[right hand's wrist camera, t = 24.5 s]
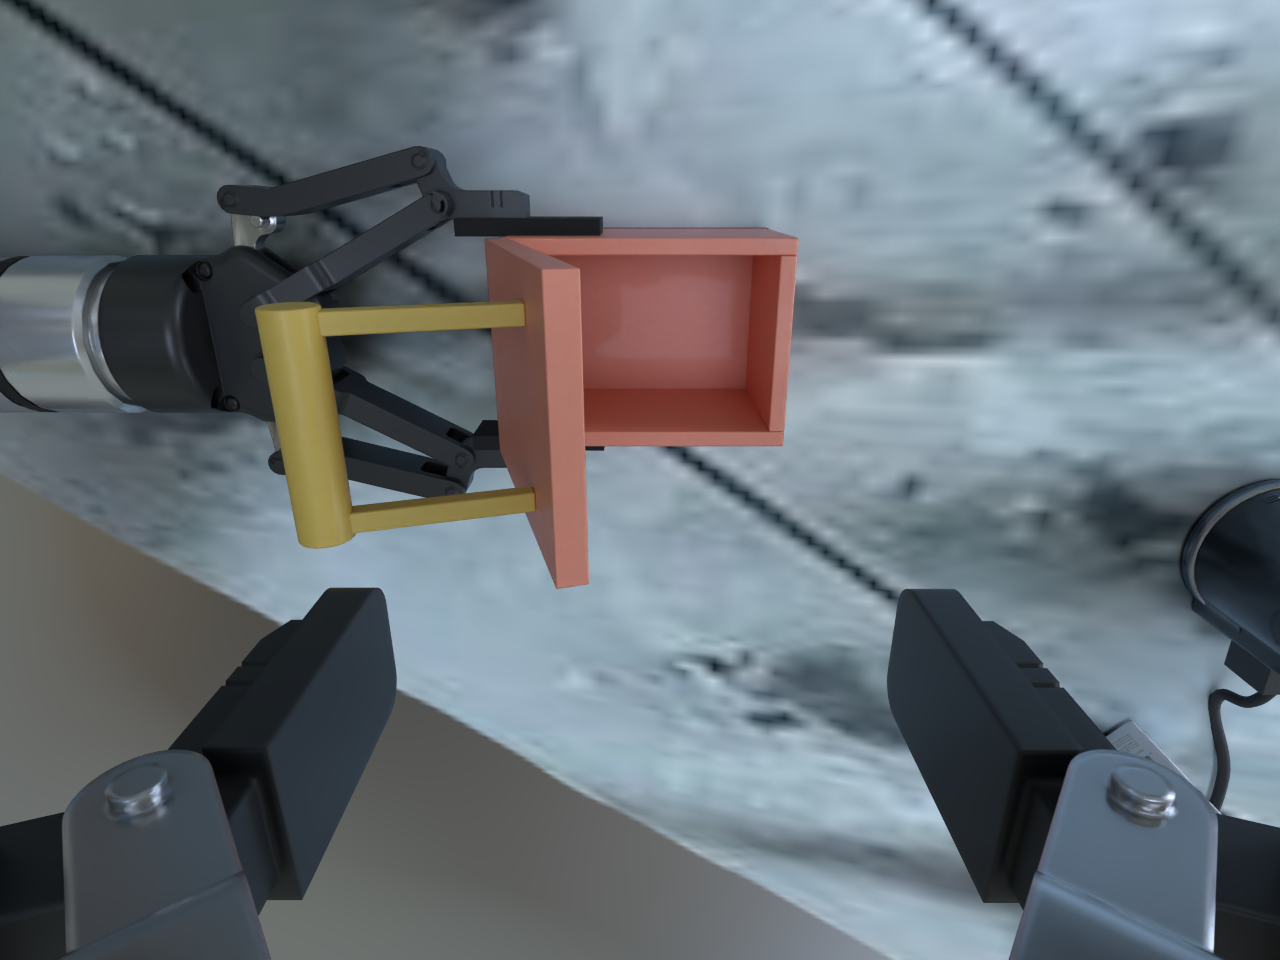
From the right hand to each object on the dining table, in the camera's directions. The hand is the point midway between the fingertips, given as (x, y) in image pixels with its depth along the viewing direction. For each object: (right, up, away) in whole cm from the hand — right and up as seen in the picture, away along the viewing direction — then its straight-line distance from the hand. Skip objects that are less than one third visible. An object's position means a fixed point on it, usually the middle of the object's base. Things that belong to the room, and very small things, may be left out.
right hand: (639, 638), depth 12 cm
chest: (0, +12, +30) cm, 32 cm away
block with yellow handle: (-4, +6, +15) cm, 17 cm away
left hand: (-2, +10, +24) cm, 26 cm away
